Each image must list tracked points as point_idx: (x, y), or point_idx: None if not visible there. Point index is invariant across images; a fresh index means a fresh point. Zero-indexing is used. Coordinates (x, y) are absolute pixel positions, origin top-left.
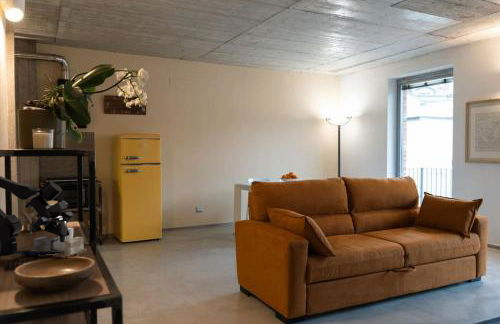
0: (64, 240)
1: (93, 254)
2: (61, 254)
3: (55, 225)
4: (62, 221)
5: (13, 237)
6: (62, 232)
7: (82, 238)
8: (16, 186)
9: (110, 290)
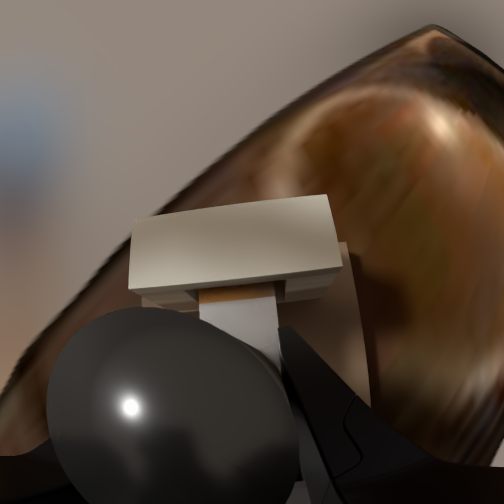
0: (260, 349)
1: (209, 182)
2: (343, 302)
3: (402, 467)
4: (160, 454)
5: None
6: (284, 353)
7: (151, 222)
8: None
9: (430, 30)
